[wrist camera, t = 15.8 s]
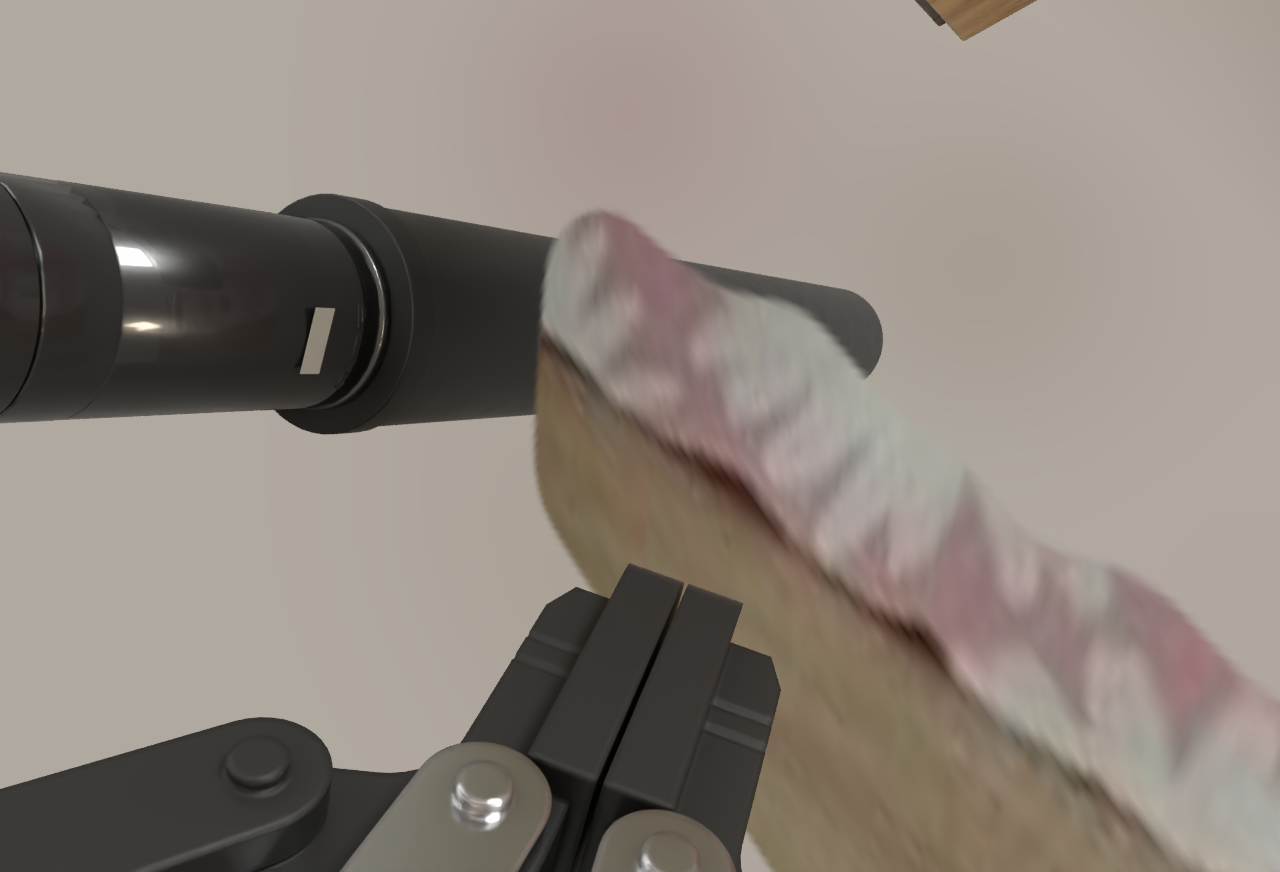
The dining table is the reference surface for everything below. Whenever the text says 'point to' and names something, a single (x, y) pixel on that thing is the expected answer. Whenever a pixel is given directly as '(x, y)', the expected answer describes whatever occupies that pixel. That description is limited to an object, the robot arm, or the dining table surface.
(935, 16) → the wooden drawer box
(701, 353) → the dining table surface
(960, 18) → the wooden drawer with knob
